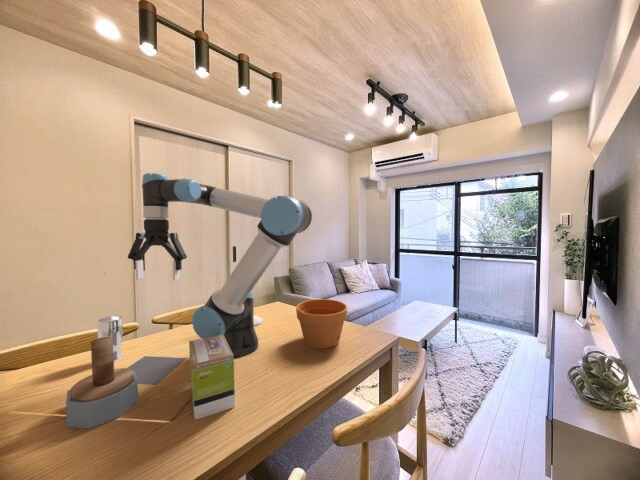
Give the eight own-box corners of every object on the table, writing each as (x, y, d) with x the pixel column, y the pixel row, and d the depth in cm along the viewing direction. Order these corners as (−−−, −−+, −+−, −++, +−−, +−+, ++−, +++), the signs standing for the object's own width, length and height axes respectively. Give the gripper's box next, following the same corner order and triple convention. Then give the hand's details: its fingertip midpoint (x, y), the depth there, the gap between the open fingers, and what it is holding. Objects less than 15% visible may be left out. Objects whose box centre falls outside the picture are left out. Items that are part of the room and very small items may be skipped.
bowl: (149, 392, 76) (148, 371, 76) (106, 429, 62) (105, 404, 62) (103, 389, 77) (102, 369, 77) (51, 426, 63) (49, 401, 63)
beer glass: (110, 366, 90) (108, 323, 89) (93, 364, 91) (91, 321, 90) (128, 356, 97) (127, 316, 96) (112, 354, 98) (111, 314, 97)
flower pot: (332, 358, 96) (332, 317, 95) (285, 345, 106) (285, 308, 106) (354, 337, 114) (355, 303, 114) (313, 327, 125) (313, 296, 124)
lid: (145, 372, 75) (144, 331, 75) (105, 403, 62) (103, 353, 62) (102, 370, 76) (101, 329, 76) (54, 400, 63) (51, 351, 63)
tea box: (189, 388, 78) (188, 339, 77) (225, 379, 83) (224, 332, 82) (193, 422, 65) (192, 362, 64) (235, 408, 70) (235, 353, 69)
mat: (187, 359, 95) (187, 357, 95) (156, 385, 79) (156, 384, 79) (144, 357, 96) (144, 356, 96) (105, 383, 80) (105, 382, 80)
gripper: (196, 219, 96) (197, 277, 97) (131, 219, 98) (133, 276, 99) (184, 218, 88) (185, 281, 89) (113, 218, 90) (116, 280, 91)
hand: (158, 279), depth 94 cm, fingers open, 13 cm apart
